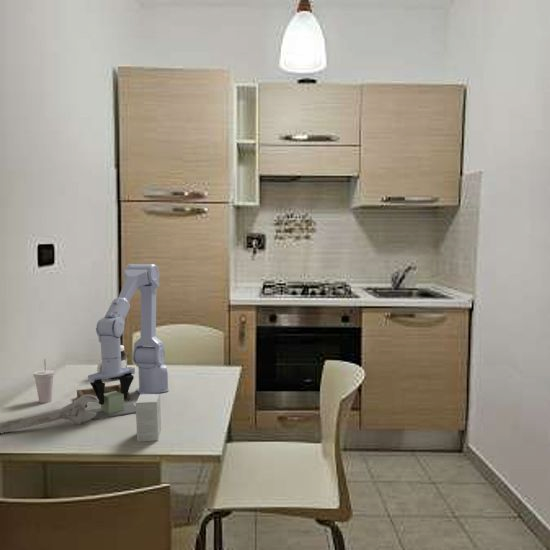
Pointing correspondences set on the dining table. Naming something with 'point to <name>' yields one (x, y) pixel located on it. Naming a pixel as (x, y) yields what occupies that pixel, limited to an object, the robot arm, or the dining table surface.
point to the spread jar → (123, 362)
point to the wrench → (53, 415)
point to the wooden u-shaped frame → (106, 390)
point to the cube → (113, 402)
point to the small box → (148, 417)
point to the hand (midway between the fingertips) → (112, 401)
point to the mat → (127, 410)
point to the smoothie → (44, 384)
